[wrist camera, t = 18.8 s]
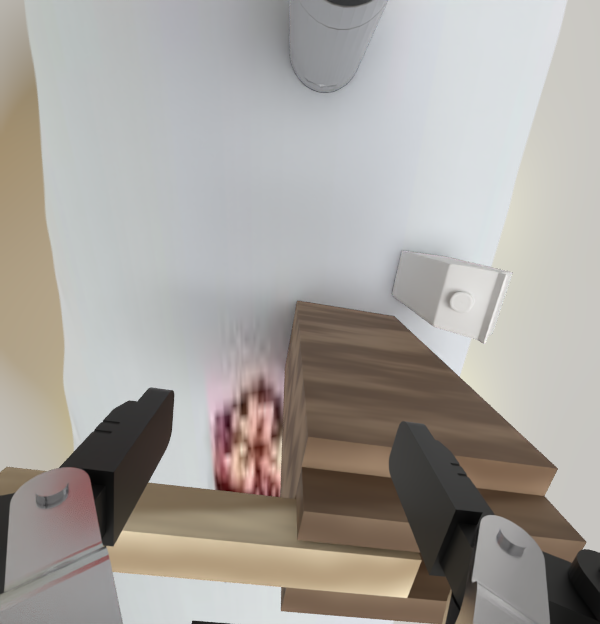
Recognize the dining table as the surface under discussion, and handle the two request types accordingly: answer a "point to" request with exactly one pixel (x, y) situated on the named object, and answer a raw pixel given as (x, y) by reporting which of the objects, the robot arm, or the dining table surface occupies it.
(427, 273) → the milk carton
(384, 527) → the pedestal
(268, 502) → the wooden block
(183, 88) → the dining table surface
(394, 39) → the dining table surface
